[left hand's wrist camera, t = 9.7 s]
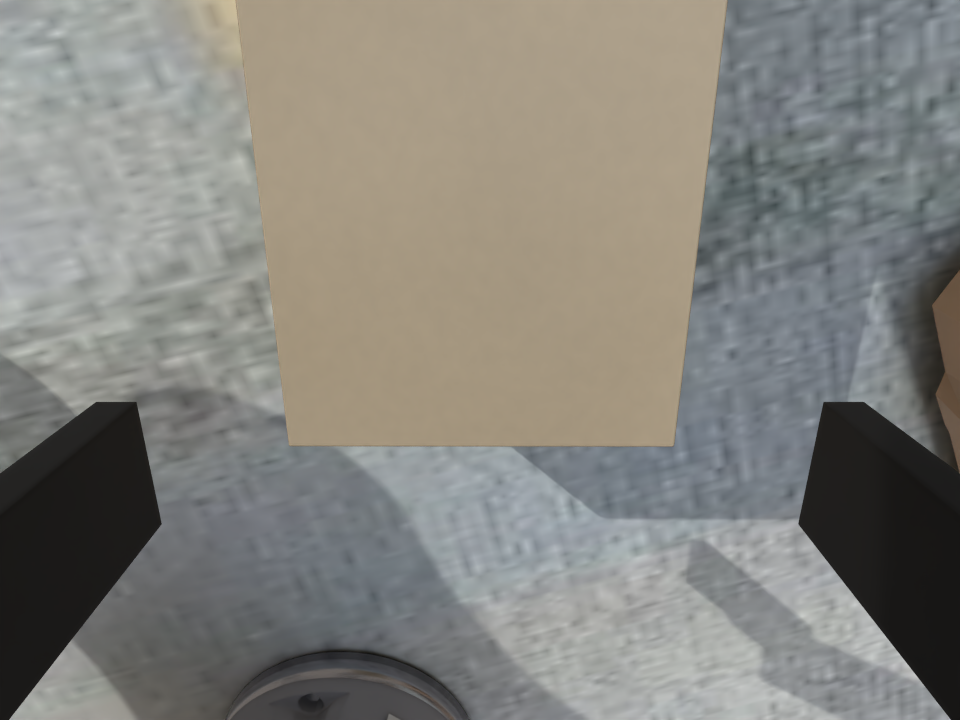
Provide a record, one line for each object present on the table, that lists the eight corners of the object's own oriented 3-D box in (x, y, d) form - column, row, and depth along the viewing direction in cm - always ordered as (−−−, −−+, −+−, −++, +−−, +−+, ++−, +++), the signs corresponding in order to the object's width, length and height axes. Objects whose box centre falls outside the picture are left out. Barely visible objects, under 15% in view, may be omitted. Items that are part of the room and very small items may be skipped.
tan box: (326, -120, 24) (197, -313, 13) (637, -120, 24) (766, -313, 13) (358, 327, 30) (288, 446, 19) (605, 327, 30) (674, 447, 19)
